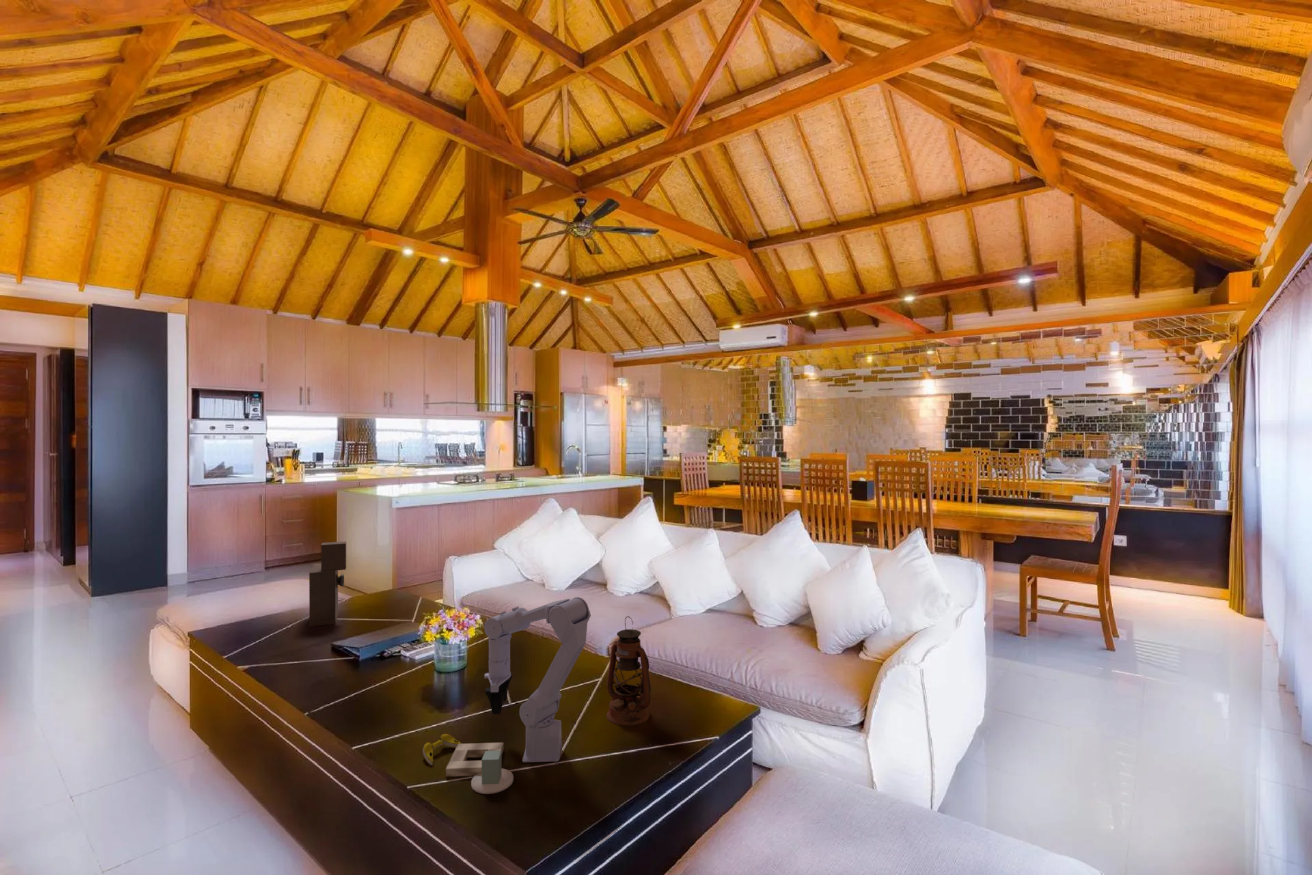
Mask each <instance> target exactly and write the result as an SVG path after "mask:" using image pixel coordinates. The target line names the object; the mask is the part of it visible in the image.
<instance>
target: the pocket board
mask: <svg viewBox="0 0 1312 875" xmlns="http://www.w3.org/2000/svg"><path fill="white" fill-rule="evenodd" d="M454 749H455V750H454V751H453V753H452V755H451V757H450V759H449V761H448V763H447V765H446V768H445V777H472V776H473V777H474V776H475V775H477V774H478V773H482V759H481V760H468V758H483V755H484V753H485V751H502V754H503V753H504V742H482V743H481V742H480V743H479V742H478V743H461V744H458V745H457V747H456V748H454Z"/></svg>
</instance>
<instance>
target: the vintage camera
mask: <svg viewBox="0 0 1312 875" xmlns="http://www.w3.org/2000/svg"><path fill="white" fill-rule="evenodd" d="M320 551H321V552H320V554H321V555H320V559H321V560H320V563H313V564H312V567H311V569H310V570H309V573H308V578H309V579H308V580H309V583H308V585H309V586H308V587H309V589H308V593H309V595H308V596H309V597H308V598H309V600H308V603H309V606H308V607H309V608H308V610H309V611H308V612H309V615H308V616H309V617H308V618H309V623H308V627H315V626H323V625H325V626H326V625H332V624H333V625H334V624H336V623H337V619H338V615H339V586H340V587H344V586H345V575H344V574H341V575H339V571H344V570H346V569H347V541H333V542H329V541H328V542H322V543H321V544H320Z"/></svg>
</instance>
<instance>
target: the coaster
mask: <svg viewBox="0 0 1312 875" xmlns="http://www.w3.org/2000/svg"><path fill="white" fill-rule="evenodd" d="M470 783H471V786H470V787H471V789H472V790H473V791H474V792H476V793H479V794H483V795H492V794H497V793H501V792H503V791H505V790H507V789H508V788H510V787H511V786H512V785H513V783H514V774H513V772H511V770H509V769H505V768H502V775H501V778H500V781H499V784H482V773H478V774H477V775H475V776H473V778H472V779H471V781H470Z"/></svg>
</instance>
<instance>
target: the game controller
mask: <svg viewBox="0 0 1312 875" xmlns="http://www.w3.org/2000/svg"><path fill="white" fill-rule="evenodd" d="M458 744H462V742H460V741H459V739H458V738H455V737H453V736H452V734H451V735H450V734H447V733H444V734H441V735H440V736H439V739H438V740H437V741H436V742H434V743H431V742H426V743H425V744H424V745H423V746H422V755H423V756H422V757H424V760H425V761H426V762H427V763H428V764H429V766H433V763H434V755H433V754H434V752H433V751H434V750H436V748H438V747H442V746H445V748H446V749H449V748H452V749H456V747H457V745H458Z"/></svg>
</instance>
